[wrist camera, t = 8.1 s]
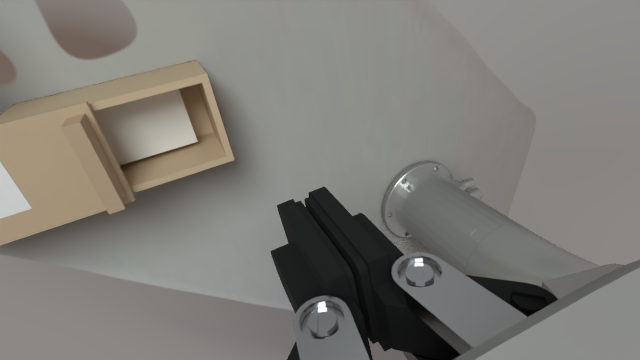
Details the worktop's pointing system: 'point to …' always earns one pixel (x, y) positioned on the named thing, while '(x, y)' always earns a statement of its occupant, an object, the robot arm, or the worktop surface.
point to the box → (151, 122)
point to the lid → (56, 171)
